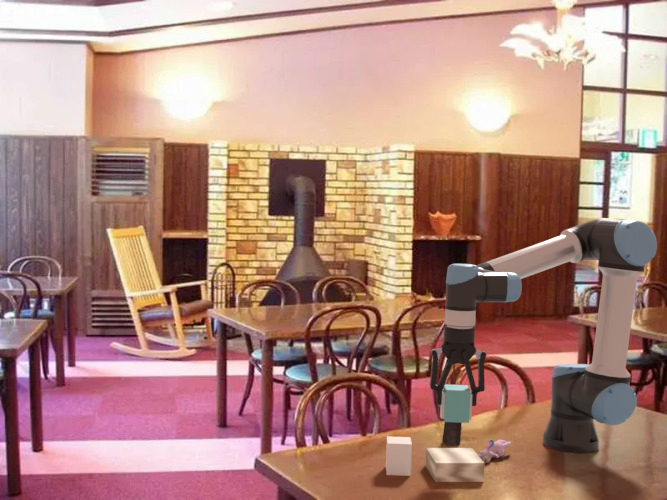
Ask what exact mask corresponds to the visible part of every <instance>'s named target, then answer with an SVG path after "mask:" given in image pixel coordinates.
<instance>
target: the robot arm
mask: <svg viewBox="0 0 667 500" xmlns="http://www.w3.org/2000/svg"><path fill="white" fill-rule="evenodd" d="M657 250H658V241H657V237H656V234H655V232H654V231H653V230H652V228H651V227H650V226H649V225H648V224H646V223H645V222H643V221H640V220H636V219H632V218H610V217H609V218H608V217H600V218H596V219H592V220H590V221H586V222H582V223H580V224H577V225H574V226H572V227H569V228H566V229H564V230H562V231H561V232H560V234H559V235H558V236H555V237H552V238H550V239H547V240H544V241H541V242H538V243H535V244H533V245H531V246H530V245H529V246H527V247H524V248H522V249H519V250H516V251H514V252H511V253H508V254H505V255H502V256H499V257H497V258H494V259H490V260H488V261H485V262H482V263H479V264H477V265H476V264H471V263H452V264H450V265H448V266H447V271H446V279H445V285H446V287H445V311H444V313H445V314H444V324H445V327H444V329H443V331H444V332H443V343H442V345H441V347H439V348H432V349H431V351H430V353H431V355H432V356H431V357H432V361H431V368H430V369H431V370H430V380H429V388H430V389H431V390H434V391H436V405H439V406H440V407H439V408H440V409H439V410H440V412H439V417H440V419H441V420H444V410H445V392H444V391H443V388H444V385H445V384H446V382H447V380H448V377H449V374H450V372H451V369H452V367H453V364H455V365H456V364H460V365H464V369H465V372H466V375H467V379H468V384H469V386H470V387H469V388H470V391H471V392H470V415H469V421H471V420H472V413H473V412H472V411H473V407H476V406H477V401H478V400H477V398H478V393H481V392H484V391H485V360H486V358H487V357H486V356H487V353H486V352H485V350H479V349H477V347H476V346H475V338H476V337H475V336H476V335H475V334H476V329H475V328H474V327H475V326H476V312H477V310H476V309H477V303H505V304H506V303H510V302H512V303H513V302H516V301H518V300H519V298H520V297H521V294H522V290H523V289H522V288H523V285H522V284H523V283H522V279H525V278H528V277H530V276H533V275H536V274H539V273H541V272H544V271H547V270H549V269H552V268H555V267H558V266H560V265H563V264H565V263H566V264H567V263H569V262H570V263H572V264H577V263H579V262H582V261H588V260H590V261H591V260H593V261H594V260H596V261H597V260H598V265H597V267H598V269H599V270H600V272H601V274H602V282H601V290H600V296H599V304H598V312H597V318H596V319H597V321H596V328H595V337H594V344H593V352H592V357H591V358H592V359H591V363H590V364H586V363H561V364H557V365H555V366H554V367H553V369H552V376H551V397H550V398H551V402H550V403H551V405H550V417H549V420H548V422H547V424H546V427H545V430H544V431H543V434H542V435H543V436H542V438H543V439H542V443H543V445H545V446H547V447H549V448H550V449H553V450H557V451H562V452H566V453H574V454H575V453H578V454H579V453H581V454H582V453H585V454H586V453H593V452H596V451H598V449H599V443H600V440H599V437H598V433H597V428H596V425H595V422H594V421H596V422H598V423H600V424H605V425H608V426H619V425H621V424H623V423H625V422H626V421H627V420H629V419H630V418H631V417H632V415H634V412H635V410H636V408H637V405H638V404H637V403H638V397H637V394H636V391H635V390H634V388H633V387H632V386H631V385H630V383H631V375H632V374H631V373H630V372H629V371H628V370H627V368H626V366H627V358H628V351H629V346H630V345H629V344H630V335H631V329H632V320H633V313H634V312H633V311H634V304H635V297H636V291H637V282H638V279H639V278H640V277H641V276H642V275H643V274H644V273H645V270H646V269H645V267H646V265H647V264H650V262H651V261H652V259H654V257H656V254H657ZM442 353H443V354H444V357H445V358H446V361H445V364H444V366H443V369H442V372H441V375H440V378H439V381H438V383H437V378H438V377H437V376H438V368H439V367H438V366H439V358H441V354H442ZM474 355H475V357H476V359H477V377H478V378H477V381H478V385H477V386H476V382H475V377H474V374H473V371H472V368H471V362H470V360H472V358H473V356H474Z"/></svg>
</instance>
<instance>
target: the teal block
mask: <svg viewBox="0 0 667 500" xmlns="http://www.w3.org/2000/svg"><path fill="white" fill-rule="evenodd" d="M443 391H444V392H445V410H444V419H443V421H444V423H445V422H459V423H461V424H463V423H464V424H465V423H466V424H468V423H469V424H470V420H469V415H470V392H471V388H470V387H469V385H467V384H456V385H454V384H447V383H445V385H444V388H443Z"/></svg>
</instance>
